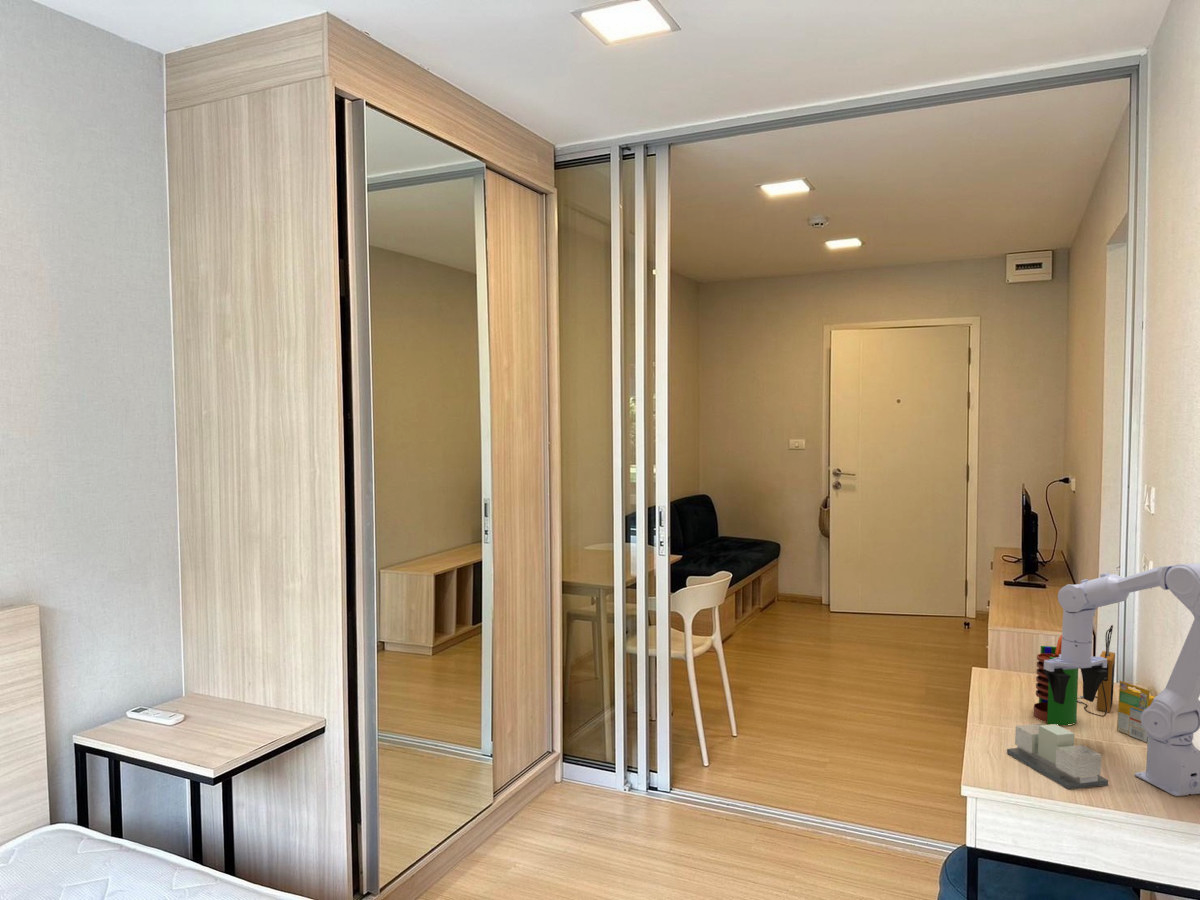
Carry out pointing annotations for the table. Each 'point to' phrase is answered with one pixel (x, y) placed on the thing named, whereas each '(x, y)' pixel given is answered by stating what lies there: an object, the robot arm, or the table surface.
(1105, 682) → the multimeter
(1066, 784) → the rail board
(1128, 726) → the crayon box
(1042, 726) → the block
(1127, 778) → the table surface
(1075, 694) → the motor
